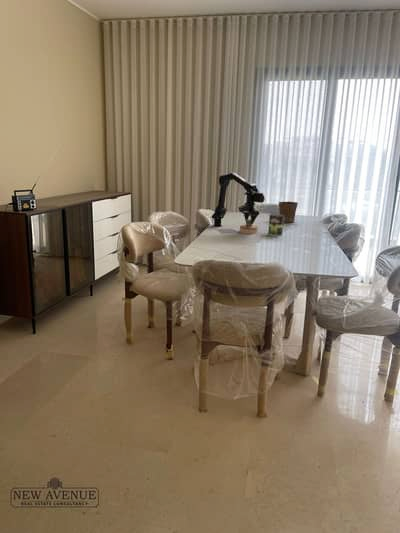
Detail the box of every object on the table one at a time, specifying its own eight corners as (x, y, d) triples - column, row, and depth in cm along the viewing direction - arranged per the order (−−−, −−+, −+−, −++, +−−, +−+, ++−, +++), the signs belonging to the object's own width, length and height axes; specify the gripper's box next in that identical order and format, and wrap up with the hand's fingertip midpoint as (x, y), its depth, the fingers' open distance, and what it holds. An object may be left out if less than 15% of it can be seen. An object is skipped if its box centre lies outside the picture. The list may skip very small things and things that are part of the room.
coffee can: (280, 236, 274) (281, 216, 270) (266, 234, 278) (267, 215, 274) (284, 233, 282) (285, 214, 278) (270, 232, 287) (272, 213, 283)
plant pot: (275, 222, 325) (277, 203, 321) (277, 219, 340) (279, 201, 336) (295, 224, 321) (297, 204, 316) (296, 220, 336) (298, 202, 331)
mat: (215, 229, 291) (215, 229, 291) (232, 229, 296) (232, 228, 296) (222, 233, 279) (222, 233, 279) (239, 232, 283) (239, 232, 283)
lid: (237, 226, 288) (237, 218, 286) (252, 225, 292) (253, 217, 290) (244, 229, 276) (244, 221, 275) (260, 228, 280) (261, 221, 279)
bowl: (237, 231, 289) (238, 226, 288) (252, 230, 293) (252, 225, 292) (244, 234, 278) (244, 229, 277) (259, 233, 282) (260, 228, 281)
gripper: (234, 200, 285) (233, 221, 289) (245, 203, 268) (244, 225, 272) (248, 199, 288) (247, 220, 293) (260, 203, 271) (258, 225, 276)
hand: (249, 222), depth 283 cm, fingers open, 9 cm apart
